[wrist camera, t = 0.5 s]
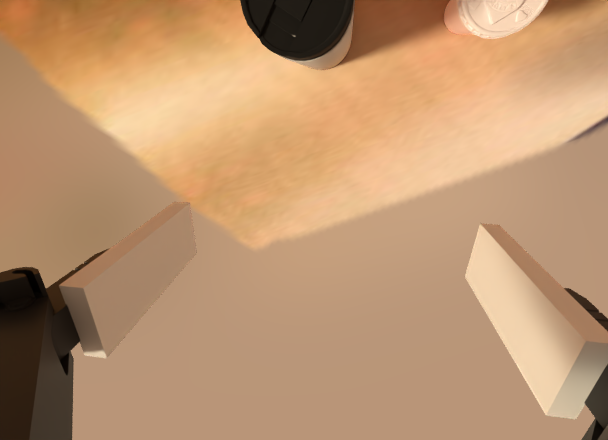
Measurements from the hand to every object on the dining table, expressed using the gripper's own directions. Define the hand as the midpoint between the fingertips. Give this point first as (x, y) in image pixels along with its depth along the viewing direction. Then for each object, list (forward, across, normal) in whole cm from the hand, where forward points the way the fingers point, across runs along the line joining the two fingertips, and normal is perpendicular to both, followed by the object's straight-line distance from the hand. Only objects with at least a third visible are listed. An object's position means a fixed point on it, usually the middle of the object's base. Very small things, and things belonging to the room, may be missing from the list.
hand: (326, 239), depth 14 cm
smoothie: (+26, +12, +13) cm, 31 cm away
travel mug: (+26, -2, +11) cm, 29 cm away
